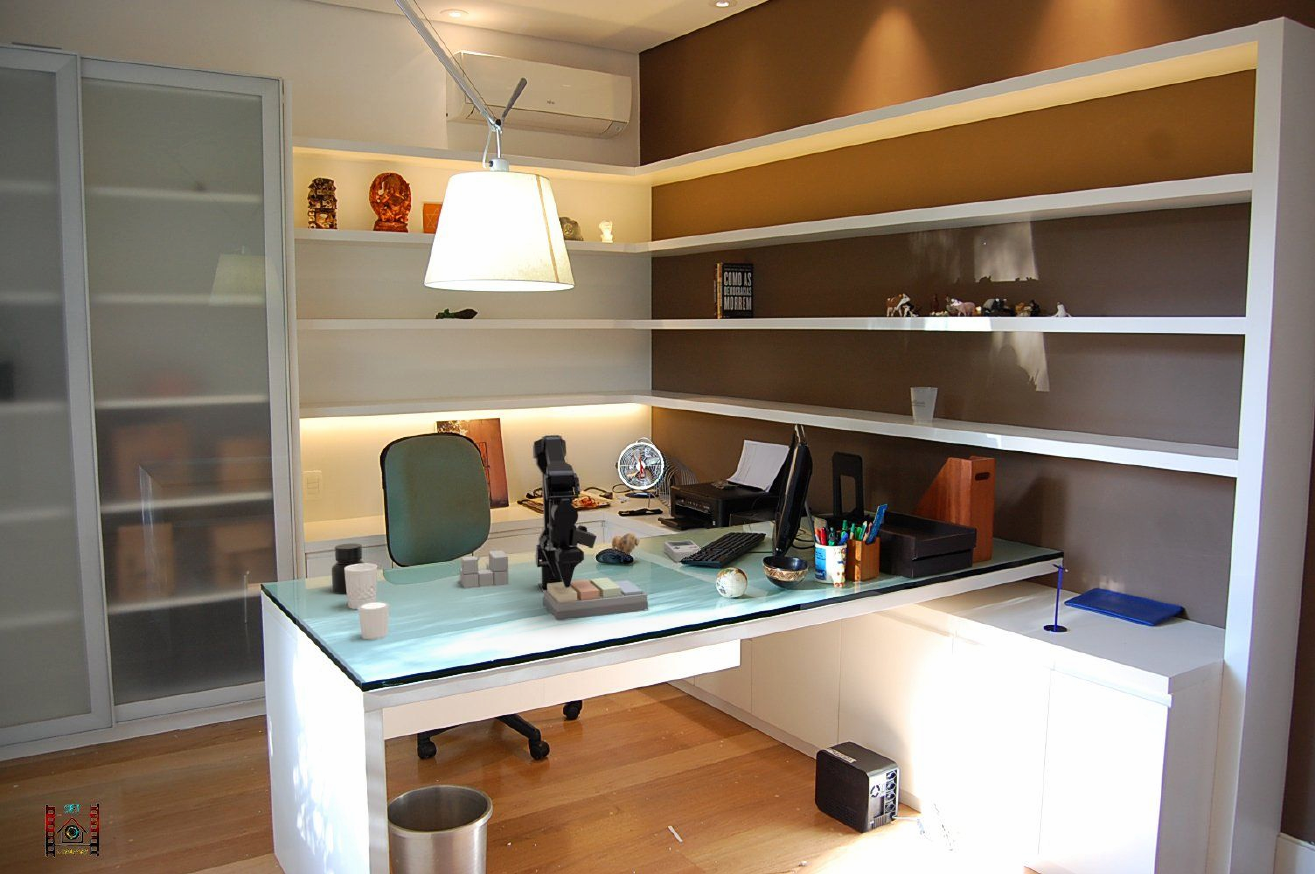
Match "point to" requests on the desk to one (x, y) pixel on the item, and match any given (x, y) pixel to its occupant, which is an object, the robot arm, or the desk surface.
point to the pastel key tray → (594, 606)
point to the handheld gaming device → (680, 549)
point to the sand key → (561, 592)
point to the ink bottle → (344, 564)
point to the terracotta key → (585, 590)
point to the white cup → (361, 584)
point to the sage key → (606, 587)
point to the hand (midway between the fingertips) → (562, 582)
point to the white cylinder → (374, 619)
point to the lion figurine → (625, 543)
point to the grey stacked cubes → (484, 571)
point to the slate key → (628, 588)
